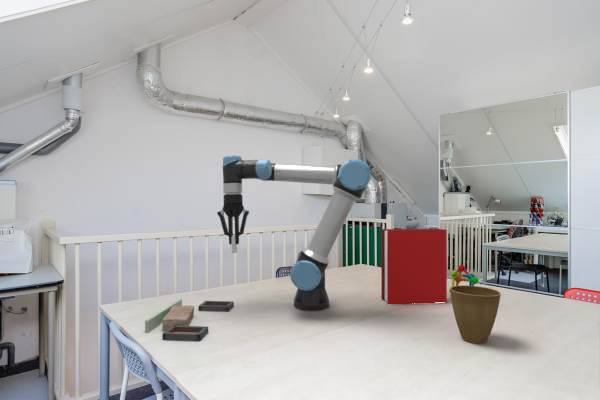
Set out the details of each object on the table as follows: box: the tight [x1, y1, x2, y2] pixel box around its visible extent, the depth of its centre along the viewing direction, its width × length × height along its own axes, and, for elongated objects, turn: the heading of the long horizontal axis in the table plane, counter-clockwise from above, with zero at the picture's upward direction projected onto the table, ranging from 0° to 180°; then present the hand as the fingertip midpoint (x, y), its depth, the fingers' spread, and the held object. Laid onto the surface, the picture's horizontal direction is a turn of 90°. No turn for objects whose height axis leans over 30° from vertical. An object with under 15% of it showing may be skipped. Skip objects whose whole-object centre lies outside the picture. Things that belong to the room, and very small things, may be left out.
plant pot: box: [449, 284, 502, 344], centre depth 122 cm, size 15×15×16 cm
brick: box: [162, 304, 195, 332], centre depth 138 cm, size 16×8×5 cm, turn 6°
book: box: [381, 228, 448, 305], centre depth 168 cm, size 27×8×32 cm, turn 96°
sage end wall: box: [144, 298, 183, 333], centre depth 142 cm, size 1×28×4 cm, turn 175°
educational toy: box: [448, 264, 479, 293], centre depth 178 cm, size 16×13×15 cm
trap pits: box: [161, 300, 235, 342], centre depth 141 cm, size 12×40×2 cm, turn 175°
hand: (234, 252), depth 153 cm, fingers closed
